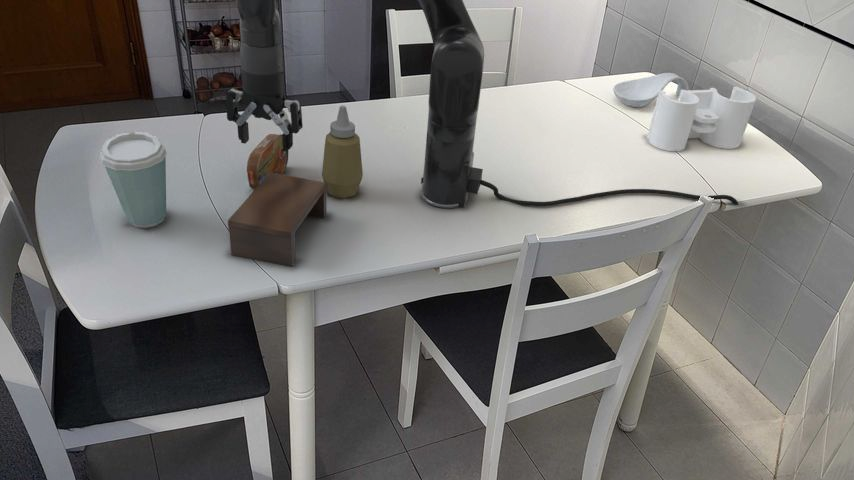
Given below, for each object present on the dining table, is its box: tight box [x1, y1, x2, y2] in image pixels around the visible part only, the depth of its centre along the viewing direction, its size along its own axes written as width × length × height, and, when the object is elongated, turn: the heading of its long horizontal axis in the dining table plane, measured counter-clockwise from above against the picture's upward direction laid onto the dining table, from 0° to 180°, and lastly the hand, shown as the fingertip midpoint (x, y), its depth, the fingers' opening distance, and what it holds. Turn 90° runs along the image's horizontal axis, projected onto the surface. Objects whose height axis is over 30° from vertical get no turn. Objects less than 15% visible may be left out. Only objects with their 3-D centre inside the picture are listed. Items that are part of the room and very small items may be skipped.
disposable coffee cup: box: [98, 131, 168, 229], centre depth 129 cm, size 11×11×15 cm
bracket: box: [646, 86, 757, 152], centre depth 181 cm, size 25×10×12 cm, turn 108°
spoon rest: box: [612, 72, 690, 109], centre depth 201 cm, size 24×12×7 cm, turn 117°
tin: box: [246, 133, 289, 191], centre depth 147 cm, size 15×3×8 cm, turn 168°
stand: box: [227, 172, 328, 268], centre depth 132 cm, size 11×18×7 cm, turn 169°
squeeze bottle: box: [321, 105, 364, 199], centre depth 143 cm, size 8×8×18 cm
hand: (266, 145), depth 145 cm, fingers open, 8 cm apart
